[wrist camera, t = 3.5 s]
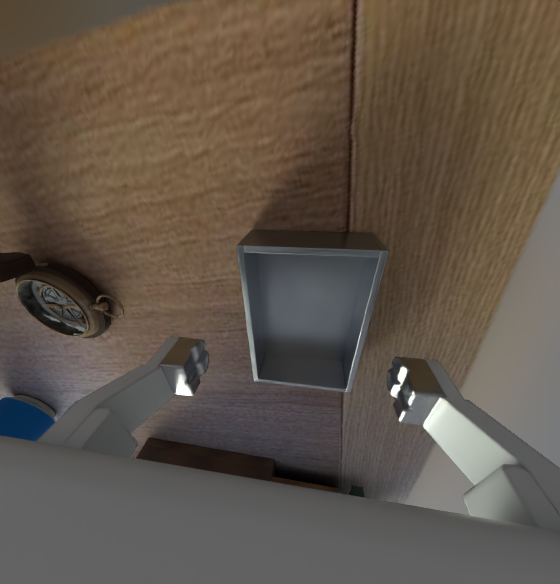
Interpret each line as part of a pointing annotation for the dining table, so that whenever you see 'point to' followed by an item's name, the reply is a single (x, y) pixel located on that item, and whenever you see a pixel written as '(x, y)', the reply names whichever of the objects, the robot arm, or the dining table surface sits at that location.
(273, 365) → the tray
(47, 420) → the beverage can
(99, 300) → the compass
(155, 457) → the cabinet
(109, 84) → the dining table surface
